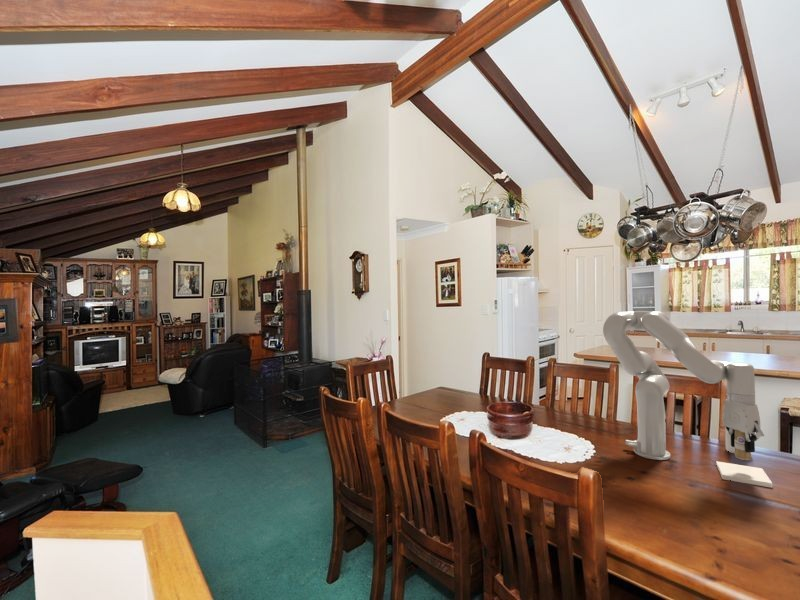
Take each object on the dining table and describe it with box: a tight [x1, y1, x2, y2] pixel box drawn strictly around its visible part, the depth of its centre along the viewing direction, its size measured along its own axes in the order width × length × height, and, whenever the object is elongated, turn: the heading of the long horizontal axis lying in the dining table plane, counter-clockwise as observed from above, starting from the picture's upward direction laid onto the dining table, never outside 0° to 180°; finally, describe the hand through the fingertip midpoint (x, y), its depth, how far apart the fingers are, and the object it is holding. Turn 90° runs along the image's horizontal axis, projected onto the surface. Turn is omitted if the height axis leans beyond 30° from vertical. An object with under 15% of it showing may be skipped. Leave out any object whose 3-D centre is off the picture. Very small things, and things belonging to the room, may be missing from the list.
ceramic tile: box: [715, 460, 774, 489], centre depth 138 cm, size 13×13×2 cm
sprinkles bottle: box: [734, 430, 752, 461], centre depth 138 cm, size 5×5×14 cm
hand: (742, 448), depth 138 cm, fingers closed on sprinkles bottle, 4 cm apart
